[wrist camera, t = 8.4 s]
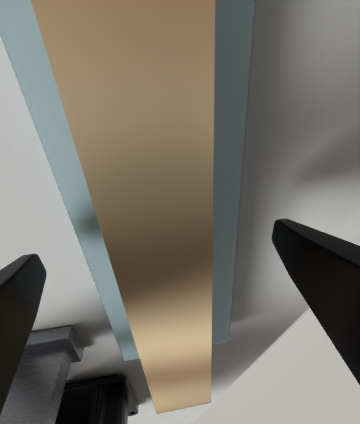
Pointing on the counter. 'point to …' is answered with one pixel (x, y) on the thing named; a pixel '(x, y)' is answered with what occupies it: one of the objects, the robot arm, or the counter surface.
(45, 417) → the hook stand
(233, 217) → the board
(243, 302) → the counter surface
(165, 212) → the oak rail
